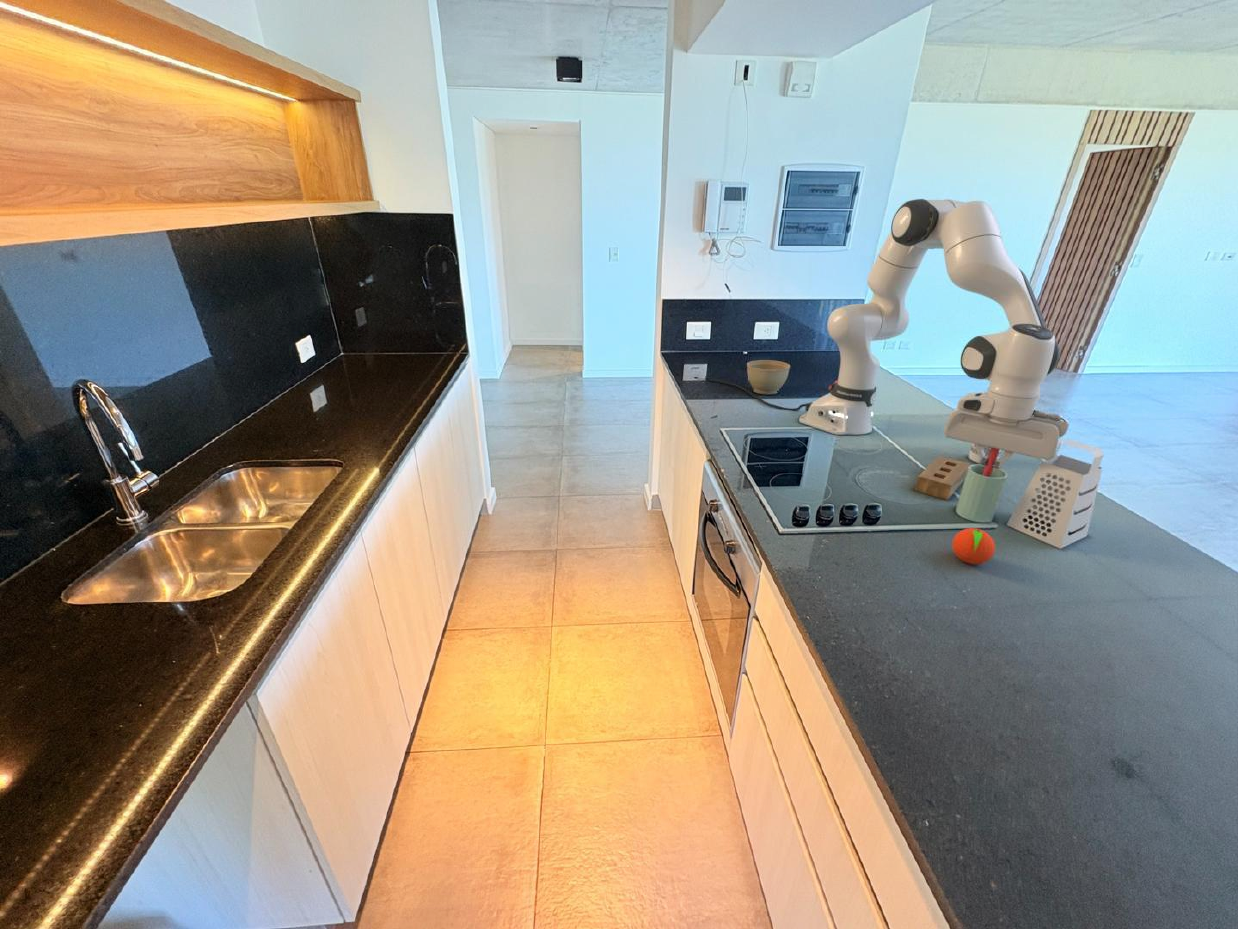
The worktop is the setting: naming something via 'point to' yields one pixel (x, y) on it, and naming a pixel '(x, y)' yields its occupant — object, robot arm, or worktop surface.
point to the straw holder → (942, 477)
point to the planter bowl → (767, 375)
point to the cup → (980, 494)
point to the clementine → (973, 546)
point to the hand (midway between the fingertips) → (989, 465)
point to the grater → (1060, 497)
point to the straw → (990, 462)
